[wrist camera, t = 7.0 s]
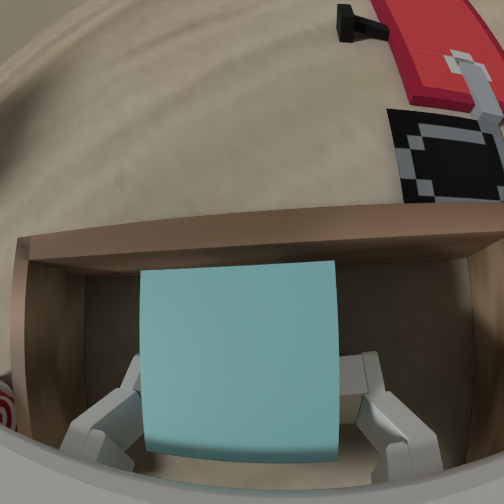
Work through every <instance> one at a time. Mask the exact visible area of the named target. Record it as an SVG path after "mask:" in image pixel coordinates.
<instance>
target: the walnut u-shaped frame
mask: <svg viewBox="0 0 504 504" xmlns="http://www.w3.org/2000/svg"><path fill="white" fill-rule="evenodd" d="M466 257H467V261H468V268H469V276H470V286H471V296H472V309H473V327H474V384H473V402H472V414H471V424H470V433H469V441H468V448H467V455H466V461H465V464H467V463H470V462H473V461H476V460H479V459H482V458H485V457H488V456H491V455H493V454H496V453H499V452H502V451H504V202H456V203H409V204H380V205H356V206H336V207H318V208H301V209H285V210H271V211H257V212H244V213H231V214H219V215H208V216H197V217H186V218H176V219H166V220H156V221H146V222H137V223H128V224H119V225H111V226H102V227H94V228H86V229H78V230H71V231H63V232H56V233H48V234H41V235H34V236H27V237H21V238H18V239H17V246H16V254H15V262H14V272H13V283H12V297H11V322H10V347H11V372H12V386H13V397H14V406H15V414H16V422H17V428H18V433H20V434H22V435H25V436H27V437H29V438H31V439H34V440H36V441H38V442H41V443H43V444H46V445H48V446H51V447H53V448H56V449H60V447H61V444H62V442H63V440H64V437H65V435H66V433H67V431H68V429H69V426H70V424H71V422H72V421H73V420H75V419H76V418H77V417H79V416H80V415H81V414H83V413H84V412H85V411H87V410H88V409H87V397H86V381H85V356H84V314H85V288H86V278H90V277H125V276H141V271H144V270H167V269H188V268H209V267H229V266H248V265H266V264H284V263H302V262H319V261H334V262H335V267H339V266H355V265H371V264H386V263H400V262H414V261H428V260H441V259H454V258H466Z"/></svg>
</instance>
